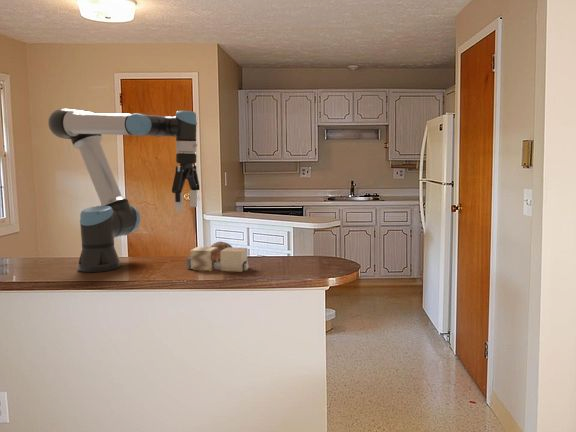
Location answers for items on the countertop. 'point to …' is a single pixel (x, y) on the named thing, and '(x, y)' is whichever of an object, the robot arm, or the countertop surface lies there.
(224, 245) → the seashell
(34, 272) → the countertop surface
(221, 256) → the rail
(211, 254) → the slotted tan cube
